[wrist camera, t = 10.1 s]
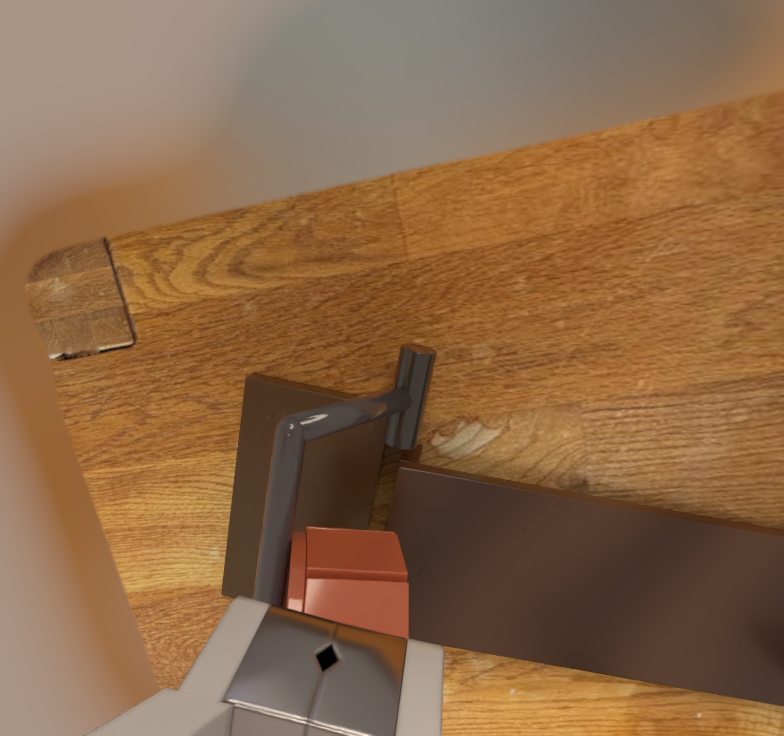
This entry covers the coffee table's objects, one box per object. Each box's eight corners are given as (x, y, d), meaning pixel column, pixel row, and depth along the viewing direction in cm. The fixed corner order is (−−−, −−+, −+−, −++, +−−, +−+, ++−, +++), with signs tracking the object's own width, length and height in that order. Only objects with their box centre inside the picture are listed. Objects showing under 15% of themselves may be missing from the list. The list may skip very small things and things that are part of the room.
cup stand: (227, 584, 33) (128, 734, 23) (252, 372, 29) (145, 443, 19) (352, 615, 32) (304, 783, 22) (393, 403, 28) (357, 492, 19)
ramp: (902, 551, 27) (960, 594, 24) (824, 703, 30) (867, 759, 26) (404, 440, 29) (397, 466, 26) (373, 592, 31) (364, 632, 28)
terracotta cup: (225, 801, 19) (414, 794, 21) (278, 407, 15) (510, 433, 16) (253, 595, 29) (378, 600, 31) (289, 325, 25) (432, 346, 26)
